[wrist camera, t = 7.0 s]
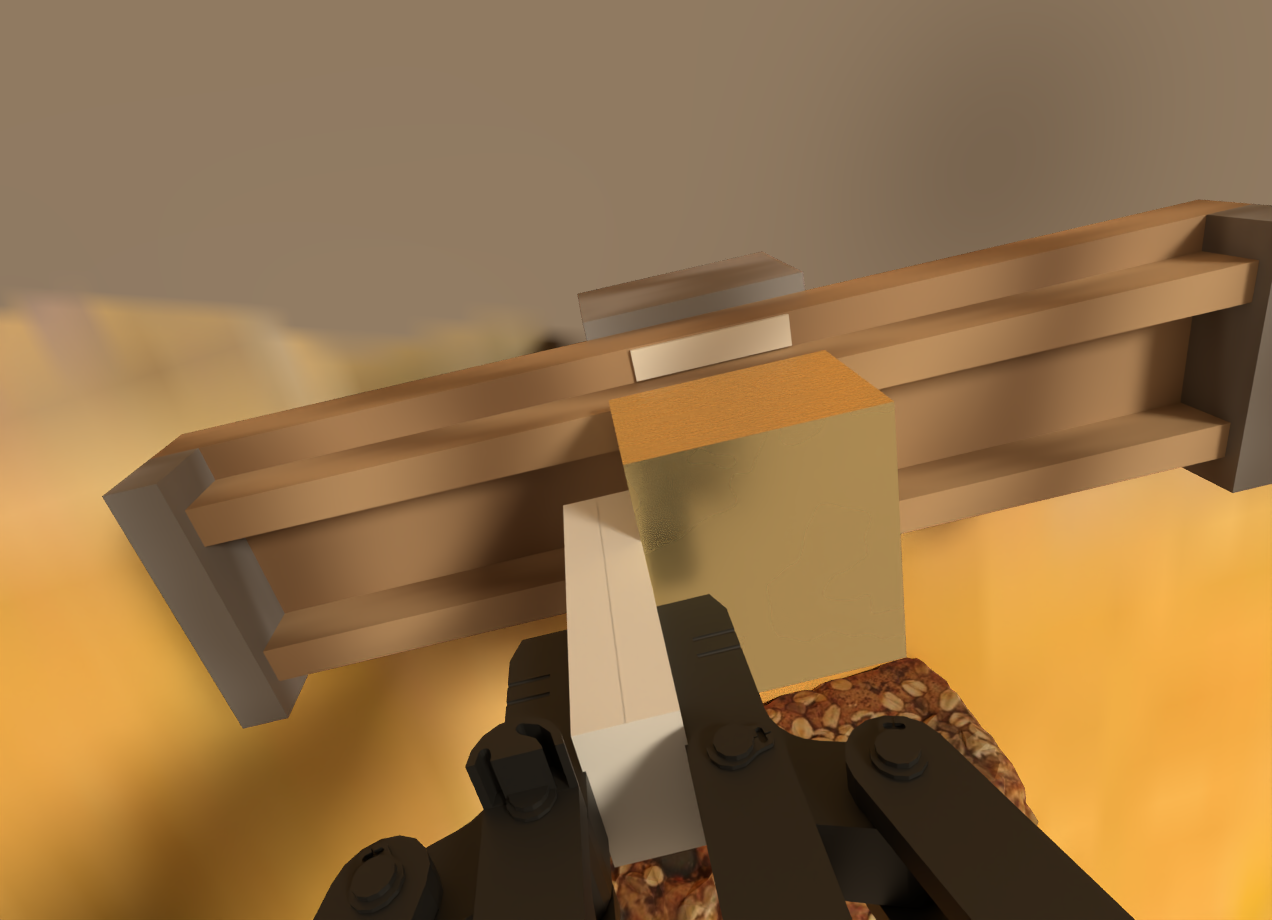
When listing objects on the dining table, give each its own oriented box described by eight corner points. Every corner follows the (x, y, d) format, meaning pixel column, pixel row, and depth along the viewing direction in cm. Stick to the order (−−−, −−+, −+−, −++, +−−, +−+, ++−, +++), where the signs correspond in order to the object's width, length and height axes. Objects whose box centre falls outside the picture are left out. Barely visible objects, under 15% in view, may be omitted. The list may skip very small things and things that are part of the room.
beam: (333, 579, 25) (251, 742, 18) (235, 372, 22) (90, 476, 15) (1079, 404, 26) (1272, 498, 19) (1095, 174, 22) (1339, 187, 15)
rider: (649, 574, 20) (681, 711, 15) (602, 376, 17) (623, 465, 12) (820, 533, 20) (906, 657, 15) (799, 330, 17) (894, 401, 13)
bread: (590, 909, 35) (604, 1180, 26) (513, 763, 30) (497, 1029, 21) (951, 798, 34) (1096, 1033, 25) (928, 634, 30) (1094, 848, 21)
